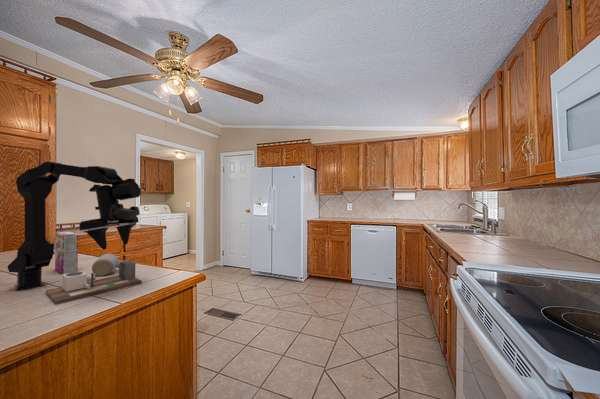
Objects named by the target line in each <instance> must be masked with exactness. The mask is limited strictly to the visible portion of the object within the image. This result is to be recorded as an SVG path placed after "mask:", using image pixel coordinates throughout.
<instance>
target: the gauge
mask: <svg viewBox="0 0 600 399" xmlns="http://www.w3.org/2000/svg"><path fill="white" fill-rule="evenodd" d="M96 276H97V275H96V274H93V280H97V279H96V278H97V277H96ZM88 281H91V275H89V276H88V274H87V273H85V272H84V271H83V270H80V271H79V270H78V272H73V273H67V274H61V287H62V288H63V289H64V290H65V291H66V292H68V291H73V290H77V289H82V288H87V289H88V288H90V285H89V284H87V282H88Z"/></svg>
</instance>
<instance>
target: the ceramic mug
mask: <svg viewBox="0 0 600 399" xmlns="http://www.w3.org/2000/svg"><path fill="white" fill-rule="evenodd" d="M119 261H120V260H119V258H118V256H117V255H115V254H113V253H105V254H102V255H101V256H99V257H98V258H97V259H96V260H95V261H94V262H93V264H92V267H91V270H92V273H93V275H95V276H98V277H99V276H100V277H101V276H102V277H104V276H107V275H109V274H110V273H116V274H119Z"/></svg>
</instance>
